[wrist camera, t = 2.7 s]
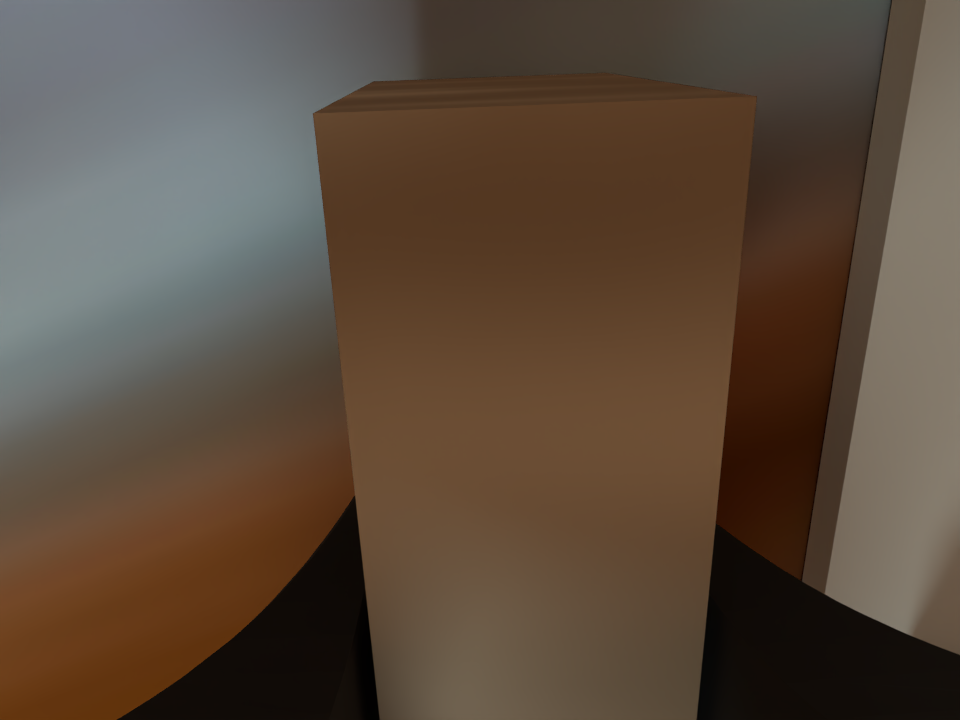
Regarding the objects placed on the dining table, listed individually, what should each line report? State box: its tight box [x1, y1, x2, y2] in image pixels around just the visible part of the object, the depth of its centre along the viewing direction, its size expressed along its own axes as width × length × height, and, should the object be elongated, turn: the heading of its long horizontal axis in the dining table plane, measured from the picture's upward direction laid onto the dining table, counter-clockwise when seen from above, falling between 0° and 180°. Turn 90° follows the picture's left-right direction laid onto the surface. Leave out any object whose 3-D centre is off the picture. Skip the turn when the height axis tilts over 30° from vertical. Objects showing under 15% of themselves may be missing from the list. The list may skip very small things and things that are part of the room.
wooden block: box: [313, 73, 757, 720], centre depth 11 cm, size 14×4×6 cm, turn 2°
